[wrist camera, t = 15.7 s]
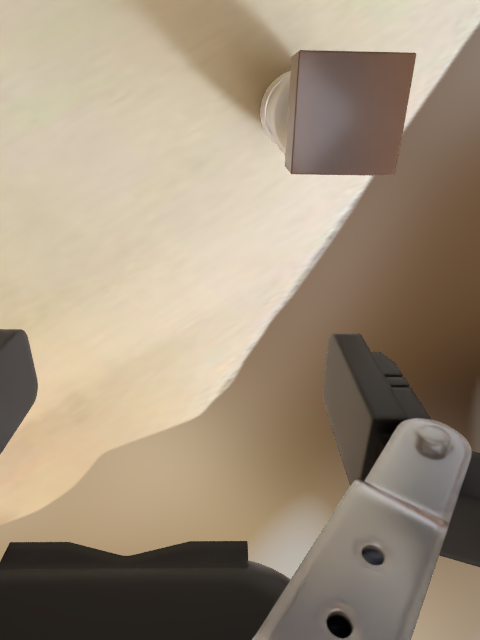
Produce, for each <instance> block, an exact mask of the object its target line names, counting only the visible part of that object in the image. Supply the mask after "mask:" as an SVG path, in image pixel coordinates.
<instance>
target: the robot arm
mask: <svg viewBox="0 0 480 640" xmlns="http://www.w3.org/2000/svg"><path fill="white" fill-rule="evenodd" d="M37 389H38V383H37V377H36V372H35V368H34V363H33V359H32V354H31V350H30V345H29V340H28V337H27V334H26V333H25V332H24V331H23V330H13V329H0V454H1V453H2V451H3V450H4V448H5V446H6V445H7V443H8V442H9V440H10V439H11V437H12V436H13V434H14V433H15V431H16V430H17V428H18V427H19V425H20V424H21V422H22V421H23V419H24V417H25V416H26V414H27V413H28V411H29V410H30V408H31V407H32V405H33V404H34V402H35V399H36V396H37ZM323 400H324V405H325V408H326V411H327V415H328V418H329V421H330V424H331V427H332V430H333V433H334V436H335V440H336V443H337V446H338V449H339V452H340V455H341V458H342V462H343V465H344V468H345V471H346V474H347V477H348V480H349V483H350V487H349V489H348V490H347V492H346V493H345V495H344V497H343V498H342V500H341V502H340V503H339V505H338V506H337V508H336V509H335V511H334V512H333V514H332V516H331V517H330V519H329V520H328V522H327V523H326V525H325V527H324V528H323V530H322V531H321V533H320V534H319V536H318V538H317V539H316V541H315V542H314V544H313V546H312V547H311V549H310V550H309V552H308V553H307V555H306V557H305V558H304V560H303V561H302V563H301V564H300V566H299V568H298V569H297V571H296V572H295V574H294V576H293V577H292V578H291V579H289V578H288V577H286V576H285V575H283V574H281V573H279V572H277V571H276V570H274V569H272V568H269V567H267V566H264V565H262V564H259V563H255V562H252V561H248V546H247V541H209V542H208V541H200V542H199V541H196V542H195V541H193V542H192V541H191V542H186V543H182V544H177V545H173V546H169V547H165V548H161V549H157V550H153V551H149V552H144V553H140V554H136V555H131V556H122V555H117V554H113V553H109V552H105V551H102V550H98V549H94V548H90V547H86V546H82V545H78V544H74V543H70V542H14V543H13V542H10V544H9V546H8V548H7V550H6V552H5V553H4V555H3V557H2V559H1V562H0V640H411V637H412V635H413V632H414V629H415V626H416V623H417V620H418V617H419V613H420V610H421V608H422V605H423V602H424V599H425V596H426V593H427V590H428V587H429V584H430V581H431V578H432V575H433V572H434V569H435V566H436V562H437V560H438V557H439V555H440V556H443V557H447V558H450V559H454V560H457V561H460V562H464V563H467V564H471V565H475V566H478V567H480V453H477V452H473V451H472V450H471V447H470V445H469V443H468V442H467V440H466V439H465V438H464V437H463V436H462V435H461V434H460V433H459V432H457V431H456V430H454V429H453V428H451V427H449V426H447V425H445V424H443V423H440V422H437V421H434V420H432V419H431V418H430V416H429V415H428V413H427V412H426V410H425V409H424V407H423V406H422V404H421V402H420V401H419V399H418V398H417V396H416V395H415V393H414V392H413V390H412V388H409V384H408V382H407V381H406V379H405V378H404V377H403V375H402V373H401V371H400V370H399V368H398V367H397V366H396V364H395V363H394V362H393V361H392V360H390V359H389V358H388V357H386V356H385V355H384V354H382V353H381V352H371V351H370V349H369V348H368V346H367V344H366V343H365V341H364V339H363V337H362V336H361V334H346V333H340V334H339V333H333V334H331V335H330V338H329V342H328V350H327V357H326V365H325V372H324V380H323Z"/></svg>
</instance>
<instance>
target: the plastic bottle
mask: <svg viewBox="0 0 480 640" xmlns="http://www.w3.org/2000/svg"><path fill="white" fill-rule="evenodd" d="M290 73H291V71H289V72H286V73H284V74H282V75H280V76H279V77H277V78H276V79H275V80H274V81H273V82H272V83H271V84H270V86H269V87H268V88H267V90H266V92H265V94H264V96H263V99H262V102H261V107H260V119H261V124H262V127H263V129H264V131H265V133H266V134H267V136H268V137H269V138H270V139H271V140H272V141H273V142H274V143H276V144H277V146H278V147H279V149H280V150H281V151H282V152H283V153H284V154H285V155H286V139H287V123H288V106H289V90H290Z"/></svg>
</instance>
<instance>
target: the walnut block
mask: <svg viewBox="0 0 480 640" xmlns="http://www.w3.org/2000/svg"><path fill="white" fill-rule="evenodd" d="M415 58H416V53H399V52H354V51H310V50H300V51H299V52H297V53H296V54H295V55H293V56H292V58H291V73H290V90H289V106H288V123H287V139H286V155H285V167H286V168H287V169H288V170H289V172H290V173H291V174H319V175H380V176H395V174H396V168H397V163H398V156H399V151H400V145H401V140H402V134H403V128H404V122H405V116H406V110H407V105H408V99H409V93H410V87H411V81H412V75H413V70H414V64H415Z"/></svg>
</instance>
